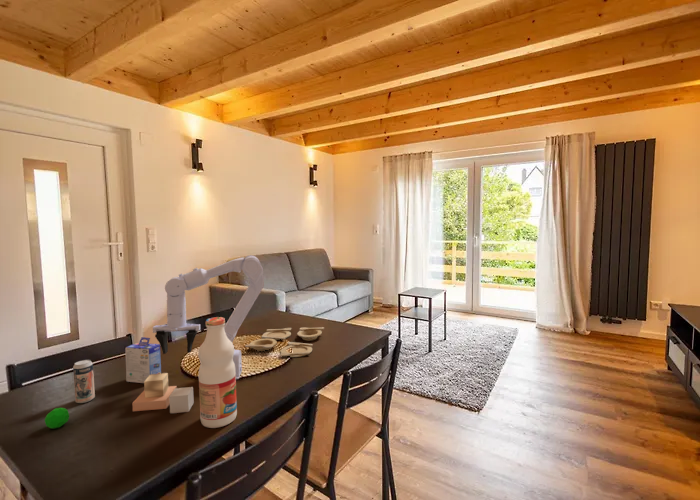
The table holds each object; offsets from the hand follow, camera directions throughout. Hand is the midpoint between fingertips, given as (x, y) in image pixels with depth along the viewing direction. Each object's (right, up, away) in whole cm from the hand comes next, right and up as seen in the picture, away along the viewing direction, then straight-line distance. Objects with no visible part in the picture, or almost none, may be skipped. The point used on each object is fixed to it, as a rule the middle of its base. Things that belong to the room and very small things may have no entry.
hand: (177, 352), depth 115 cm
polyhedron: (-19, -13, -25) cm, 34 cm away
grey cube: (+9, -12, -16) cm, 22 cm away
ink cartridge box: (-13, -11, +3) cm, 17 cm away
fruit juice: (+23, -12, -22) cm, 34 cm away
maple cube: (0, -9, -12) cm, 15 cm away
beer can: (-23, -12, -11) cm, 28 cm away
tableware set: (+30, -8, +38) cm, 49 cm away
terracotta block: (0, -12, -12) cm, 17 cm away
